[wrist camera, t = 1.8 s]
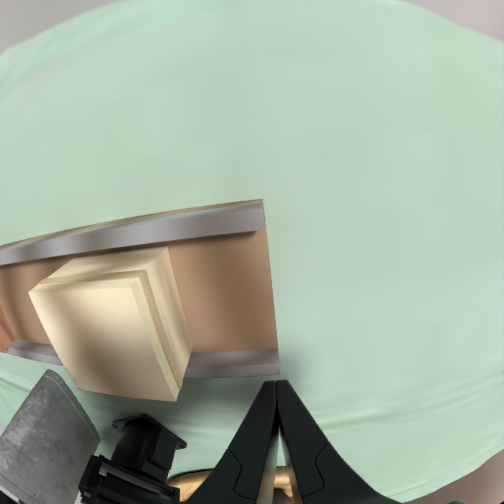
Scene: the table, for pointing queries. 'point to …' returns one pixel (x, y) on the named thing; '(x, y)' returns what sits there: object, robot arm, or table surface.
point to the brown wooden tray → (186, 275)
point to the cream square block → (118, 323)
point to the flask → (47, 445)
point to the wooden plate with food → (192, 481)
